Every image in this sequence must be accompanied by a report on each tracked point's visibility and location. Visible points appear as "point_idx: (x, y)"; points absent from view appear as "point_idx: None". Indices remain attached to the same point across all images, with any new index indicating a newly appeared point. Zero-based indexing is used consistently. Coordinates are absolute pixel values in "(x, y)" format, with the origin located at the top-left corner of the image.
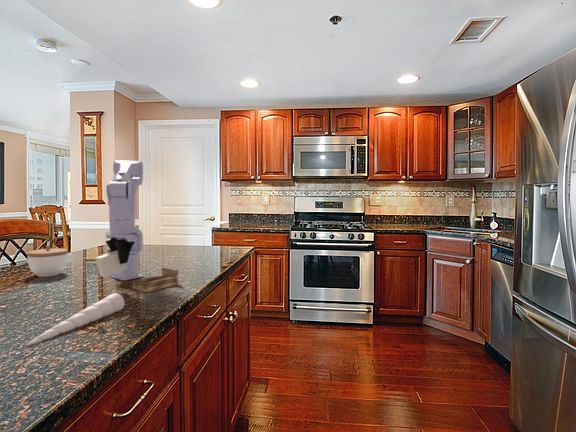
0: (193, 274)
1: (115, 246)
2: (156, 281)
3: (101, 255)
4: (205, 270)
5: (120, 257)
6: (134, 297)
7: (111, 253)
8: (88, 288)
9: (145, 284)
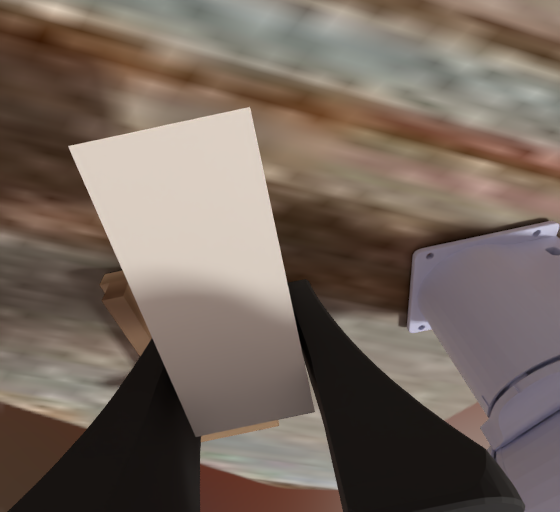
0: (297, 436)
1: (331, 450)
2: (135, 348)
3: (270, 214)
4: (323, 463)
5: (142, 355)
6: (10, 211)
7: (216, 334)
8: (417, 39)
9: (105, 302)
